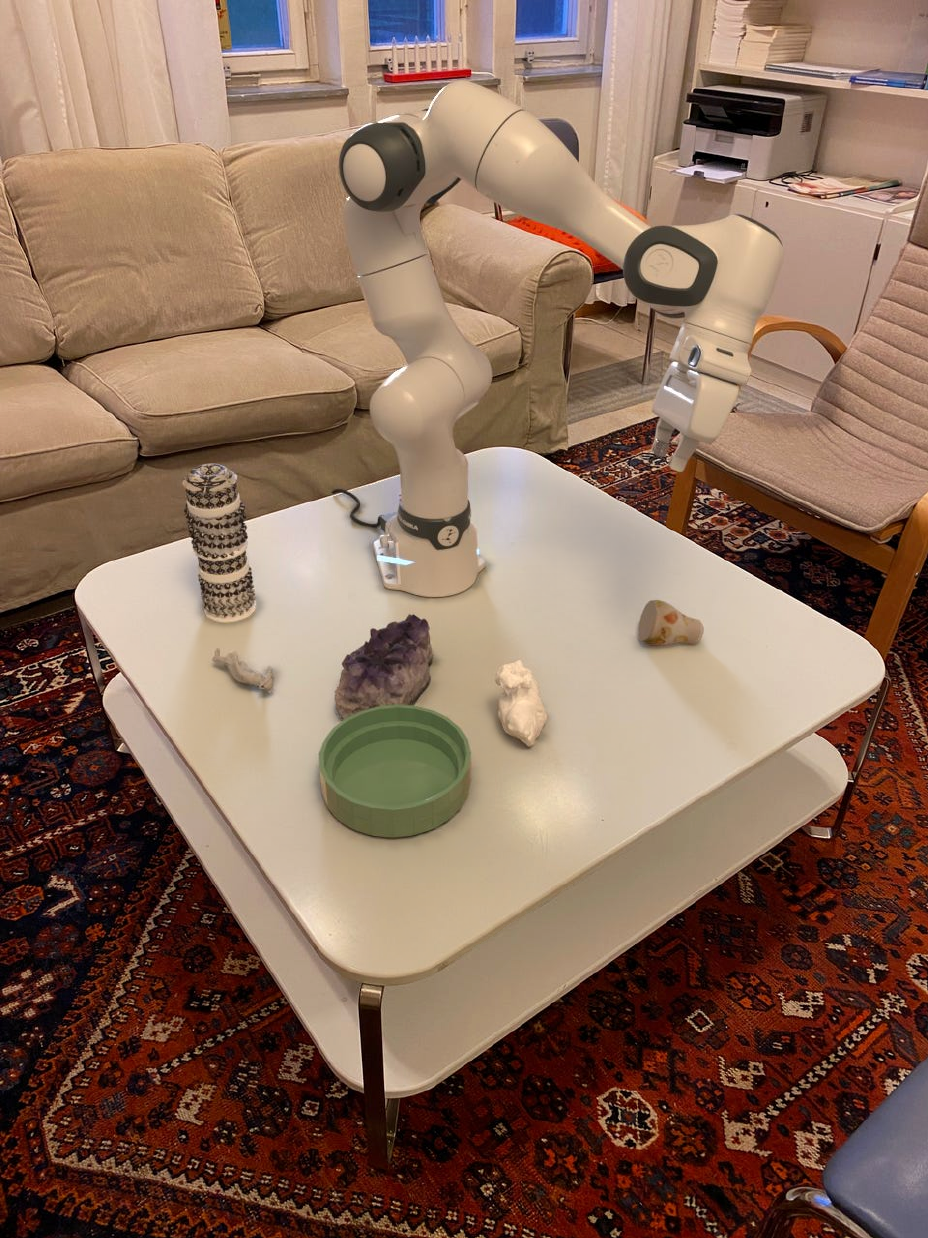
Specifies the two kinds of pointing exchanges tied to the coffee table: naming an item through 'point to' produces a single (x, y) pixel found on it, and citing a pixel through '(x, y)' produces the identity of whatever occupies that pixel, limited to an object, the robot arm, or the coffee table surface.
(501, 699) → the bust
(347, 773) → the bowl
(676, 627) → the mug
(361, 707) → the geode
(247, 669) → the grey figurine
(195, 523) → the decorative candle
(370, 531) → the coffee table surface
